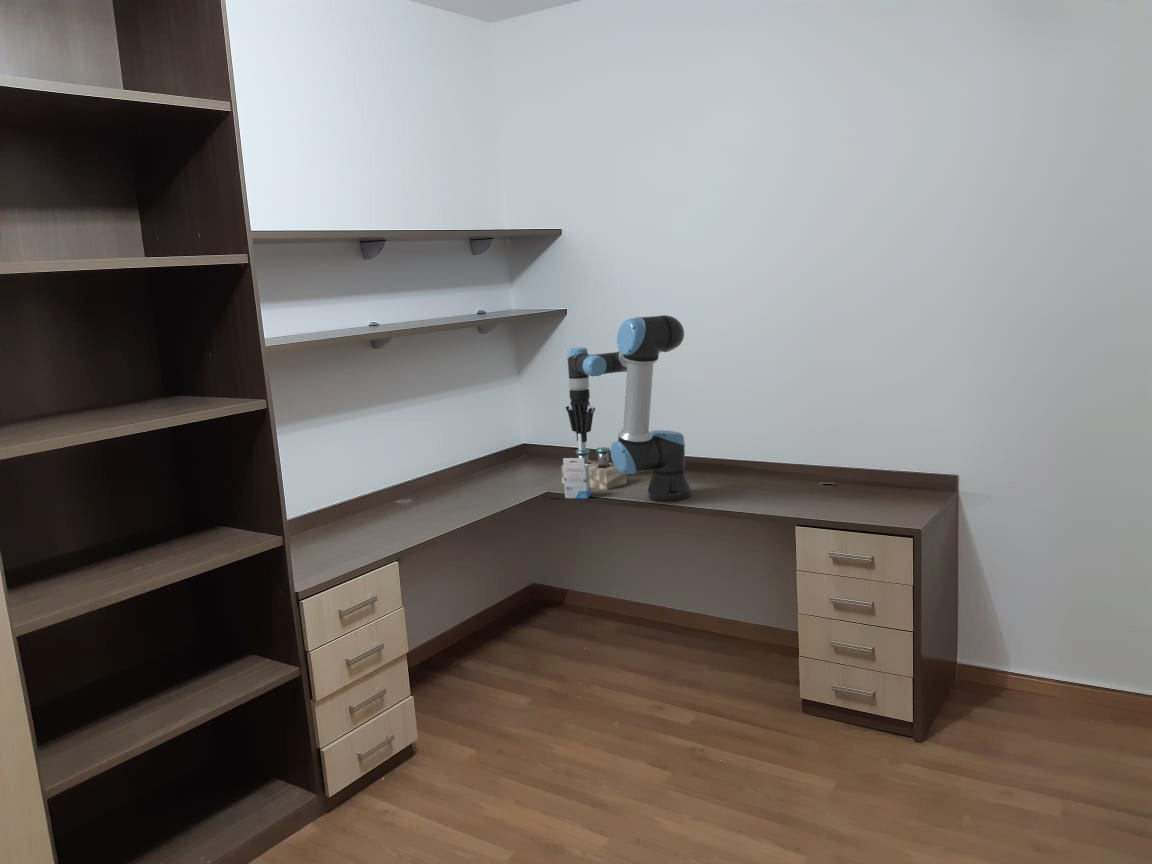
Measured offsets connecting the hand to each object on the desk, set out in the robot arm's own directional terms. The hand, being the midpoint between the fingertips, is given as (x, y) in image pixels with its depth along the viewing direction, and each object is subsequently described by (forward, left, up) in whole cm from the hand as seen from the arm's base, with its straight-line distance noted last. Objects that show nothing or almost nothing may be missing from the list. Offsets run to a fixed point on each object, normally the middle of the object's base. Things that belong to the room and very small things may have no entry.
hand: (582, 449), depth 346 cm
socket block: (-5, 0, -12) cm, 13 cm away
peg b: (-10, 0, -6) cm, 12 cm away
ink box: (-13, +19, -13) cm, 26 cm away
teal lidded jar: (0, 0, -8) cm, 8 cm away
